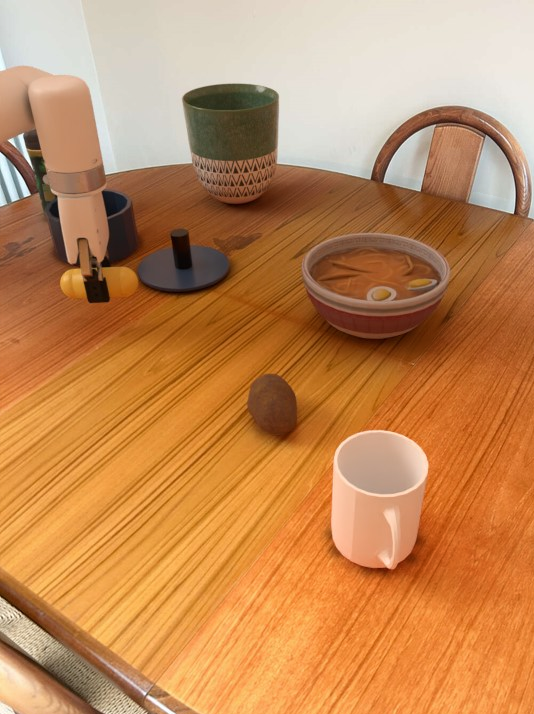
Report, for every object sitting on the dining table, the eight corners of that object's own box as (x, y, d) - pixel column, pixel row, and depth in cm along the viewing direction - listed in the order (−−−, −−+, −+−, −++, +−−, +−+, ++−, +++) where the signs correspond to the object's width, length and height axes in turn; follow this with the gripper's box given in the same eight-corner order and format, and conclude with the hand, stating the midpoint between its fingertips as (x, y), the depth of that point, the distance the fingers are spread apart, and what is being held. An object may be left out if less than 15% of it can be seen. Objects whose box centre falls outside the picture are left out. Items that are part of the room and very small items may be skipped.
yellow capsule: (61, 305, 99) (54, 279, 96) (66, 290, 103) (59, 263, 100) (139, 302, 100) (134, 275, 97) (141, 286, 104) (137, 260, 101)
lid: (134, 297, 113) (127, 257, 108) (142, 253, 126) (135, 215, 121) (231, 291, 114) (227, 251, 110) (228, 248, 127) (225, 210, 122)
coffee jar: (51, 204, 144) (29, 115, 132) (88, 203, 144) (68, 115, 132) (40, 223, 136) (15, 131, 124) (79, 222, 137) (57, 130, 125)
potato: (259, 449, 84) (256, 412, 80) (240, 403, 91) (236, 367, 87) (307, 438, 85) (307, 401, 81) (285, 393, 93) (284, 357, 89)
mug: (388, 493, 78) (397, 420, 70) (445, 570, 69) (462, 496, 62) (316, 519, 75) (317, 445, 67) (367, 603, 66) (375, 529, 59)
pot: (46, 275, 119) (34, 231, 114) (65, 225, 135) (55, 185, 130) (133, 270, 120) (125, 227, 115) (142, 221, 137) (135, 181, 131)
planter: (292, 187, 150) (291, 87, 137) (263, 222, 136) (259, 114, 122) (214, 178, 155) (205, 80, 141) (178, 211, 141) (165, 105, 127)
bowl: (454, 360, 98) (464, 302, 92) (302, 361, 98) (302, 303, 92) (430, 283, 116) (437, 231, 110) (301, 284, 116) (300, 232, 110)
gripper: (59, 155, 96) (84, 267, 107) (36, 203, 83) (68, 324, 95) (111, 153, 96) (131, 265, 108) (97, 201, 83) (120, 321, 95)
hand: (101, 291), depth 101 cm, fingers closed on yellow capsule, 4 cm apart
